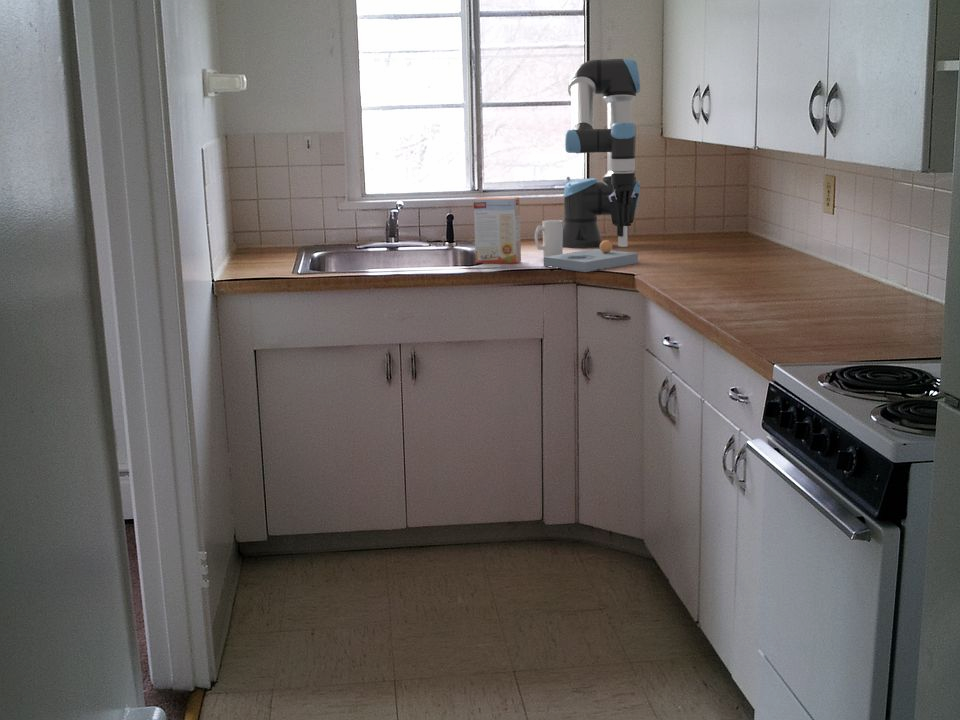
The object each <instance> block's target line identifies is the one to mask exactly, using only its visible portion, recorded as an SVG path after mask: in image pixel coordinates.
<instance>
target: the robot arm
mask: <svg viewBox="0 0 960 720" xmlns="http://www.w3.org/2000/svg"><path fill="white" fill-rule="evenodd" d="M640 81H641V80H640V74H639V68H638V63H637V61H636V60H635V59H633V58H611V59H607V58H606V59H591V60H587V61H584V62H583V63H582V64H581V65H579V66H578V67H576V69H575V70H574V71H573V72H572V74H571V75H570V77H569V80H568V83H567V91H568V92H567V93H568V95H569V96H570V129H567V130H566V131H565V134H564V136H565V138H564V140H565V144H564V146H565V148H564V149H565V152H566V153H569V154H577V155H578V154H587V153H588V154H589V153H593V154H594V153H607V154H606V158H607V159H606V160H607V161H606V163H607V164H606V165H607V167H606V168H607V170H606V173H605V174H604V175H603V176H602V181H598V179H597V178H595V177H594V178H593V177H591V178H583V179H577V180H571V181H569V182H567V183H565V185H564V188H563V189H564V191H563V192H564V193H563V199H564V201H563V203H564V204H563V205H564V210H563V212H564V213H563V214H564V215H563V217H564V221H563V247H565V248H594V247H600V243H601V242H602V241H603V238H602V236H601V233H600V229H599V226H598V216H610V217H611V223H612V225H614V226H615V227H617V228H616V233H617V234H616V235H617V247H623V248H625V247H628V237H629V236H628V235H629V227H631V226H632V224H633V223H634V220H635V219H634V218H635V213H636V212H637V210H638V207H639V206H638V205H639V200H640V199H639V198H640V192H641V190H640V189H641V182H640V181H639V180H637V175H636V173H635V171H636V125H635V123H634V122H632V120H633V119H632V117H633V116H632V112H633V111H632V110H633V109H632V107H633V106H632V103H633V102H634V101H635V100H636V98H637V94H639V93H641V85H640V84H641V83H640ZM595 95H602V101H604V102H605V103H606V126H607V127H606V128H595V126H594V121H595V118H594V96H595Z"/></svg>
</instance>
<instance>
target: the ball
mask: <svg viewBox="0 0 960 720" xmlns="http://www.w3.org/2000/svg"><path fill="white" fill-rule="evenodd" d="M599 249H600V250H601V251H602V252H604V253H608V252H610V251H613V244H612V242H611V241H610V240H608V239H607V240H606V239H605V240H602V242H601V243H600V246H599Z"/></svg>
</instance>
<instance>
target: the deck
mask: <svg viewBox="0 0 960 720" xmlns="http://www.w3.org/2000/svg"><path fill="white" fill-rule="evenodd" d="M638 263H639V253H637V252H628V251H619V250H611V251H610V252H608V253H604V252H602V251H601V250H600V248H594V249H586V250H580V251H574V252H573V251H572V252H567V253H566V252H565V253H562V254H560V255H553V256H547V257H544V256H543V267H544V266H552V267H558V268H561V270H568V271H574V272H582V273H587V272H588V273H589V272H594V271H598V270H597V269H601V270H605V269H604V268H606V269H611V268H617V267H622V266H630V265H633V264H638ZM558 268H557V269H558Z"/></svg>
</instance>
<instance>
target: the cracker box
mask: <svg viewBox="0 0 960 720" xmlns="http://www.w3.org/2000/svg"><path fill="white" fill-rule="evenodd" d="M520 206H521V205H520V197H501V196H500V197H495V196H494V197H478V198H474V199H473V218H474V219H473V223H474V224H473V225H474V227H473V228H474V251H475V252H474V254H475V256H474V257H475V263H476V264H507V265H509V264H512V265H513V264H514V265H515V264H518V263H520V262H521V261H522V253H521V251H522V247H521V245H522V243H521V209H520Z"/></svg>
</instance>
